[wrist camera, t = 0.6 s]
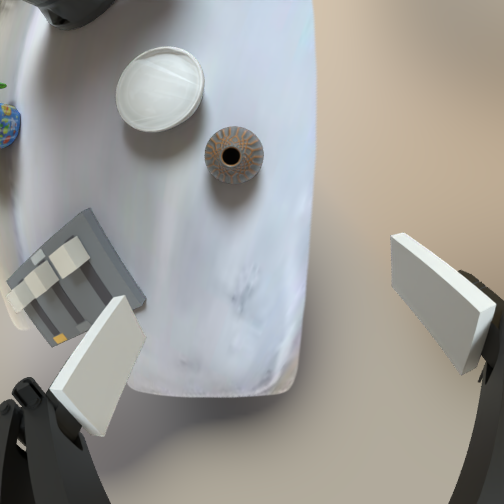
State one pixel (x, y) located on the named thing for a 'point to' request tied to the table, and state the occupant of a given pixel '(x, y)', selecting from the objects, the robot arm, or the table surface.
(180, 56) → the ramekin
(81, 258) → the knob near
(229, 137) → the vase
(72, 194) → the table surface
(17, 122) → the snack cup
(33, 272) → the knob mid
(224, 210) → the table surface
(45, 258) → the switch panel
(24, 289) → the knob far
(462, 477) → the robot arm
